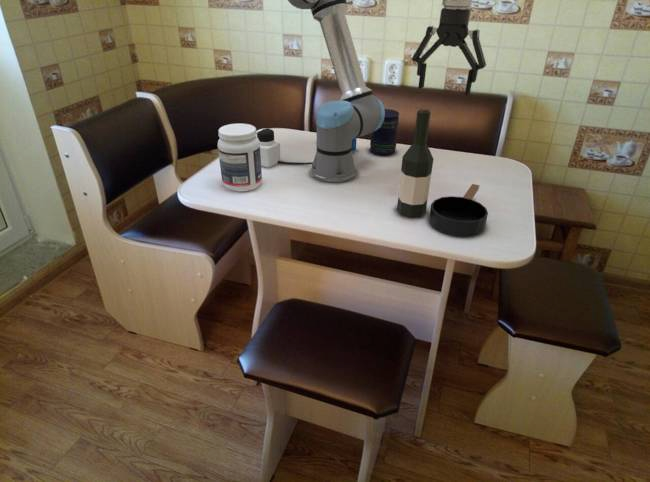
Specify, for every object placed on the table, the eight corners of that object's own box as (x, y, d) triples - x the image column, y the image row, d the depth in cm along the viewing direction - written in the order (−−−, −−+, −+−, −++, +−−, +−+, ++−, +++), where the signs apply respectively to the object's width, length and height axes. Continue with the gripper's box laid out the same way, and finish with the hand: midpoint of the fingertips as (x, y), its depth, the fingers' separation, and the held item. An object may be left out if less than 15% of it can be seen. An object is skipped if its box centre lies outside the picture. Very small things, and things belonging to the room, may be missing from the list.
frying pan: (476, 242, 118) (480, 227, 116) (421, 227, 125) (423, 213, 122) (497, 203, 138) (501, 189, 135) (449, 192, 144) (451, 178, 141)
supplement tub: (245, 173, 154) (241, 119, 145) (270, 184, 147) (267, 129, 137) (214, 184, 146) (207, 128, 137) (238, 197, 139) (233, 139, 129)
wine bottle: (425, 219, 128) (441, 114, 112) (395, 216, 130) (407, 112, 114) (425, 206, 135) (440, 105, 119) (397, 203, 137) (408, 103, 121)
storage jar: (365, 153, 171) (368, 114, 163) (374, 145, 179) (377, 107, 171) (391, 158, 168) (395, 118, 160) (398, 149, 175) (402, 111, 167)
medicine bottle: (281, 161, 163) (279, 129, 157) (268, 168, 158) (266, 134, 152) (265, 157, 166) (263, 125, 160) (252, 163, 161) (250, 130, 155)
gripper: (406, 6, 121) (398, 87, 132) (502, 11, 111) (484, 99, 122) (415, 4, 126) (407, 82, 138) (508, 9, 116) (491, 93, 127)
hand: (443, 90), depth 130 cm, fingers open, 13 cm apart
